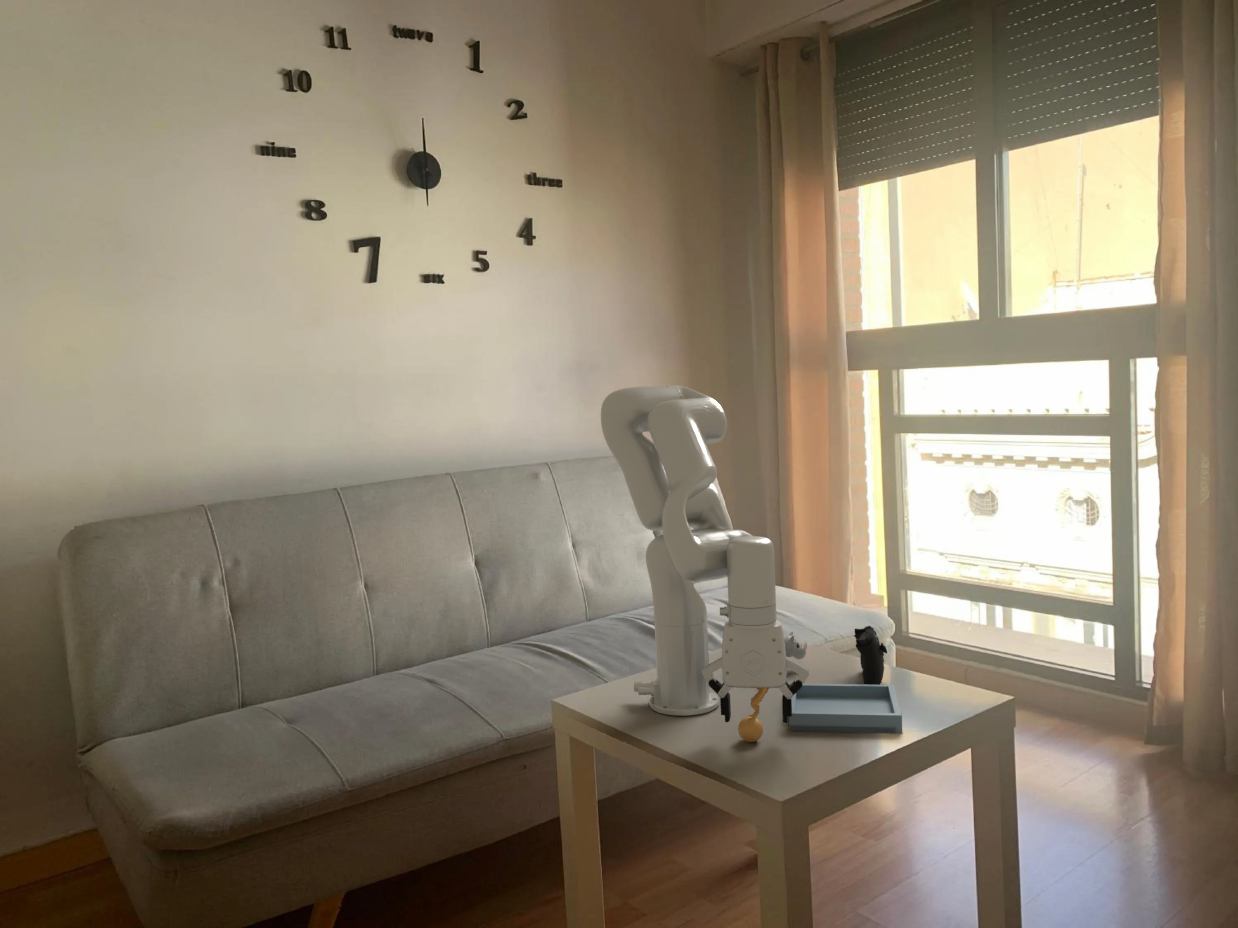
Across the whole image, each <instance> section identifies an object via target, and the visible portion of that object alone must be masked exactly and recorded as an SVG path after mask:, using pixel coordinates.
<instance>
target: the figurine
mask: <svg viewBox="0 0 1238 928" xmlns="http://www.w3.org/2000/svg"><path fill="white" fill-rule="evenodd" d="M755 689H756V690H755V691H757V692H756V693H755V694H754V695H753V697H751V699H750V706H751V708H752V709H753V710H754V712H753V713H752V714H749V715H748V716H746V717H744V718H742V719H741V720H740V721H739V723H738V727H737V730H738V735H739V737H740V738H741V739H742V740H743V741H745V742H747V743H755V742H756V741H759V740H760V738H762V736H763V732H764V727H763V724H762V722H761V721H760V720H759V719H758V718H757V717H758V716H759V714H760V703H761V702H762V701H763V699H764V697H765V695H766V694H767V693H768V691H769V689H770V688H767V687H764V688H755Z"/></svg>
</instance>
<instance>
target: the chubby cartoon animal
mask: <svg viewBox="0 0 1238 928" xmlns="http://www.w3.org/2000/svg"><path fill="white" fill-rule="evenodd" d="M784 641H785V650H786V657H788V658H791V657H793V658H795V659H796V660H802V659H804V658H805V657H806V655H807V649H808V644H807V641H804V645H803V644H802V643H801V644H800V643H799V640H798V639H797V638H796V637H795V635H794V632H793V631H791V632H790V633H789V635H787V636H784Z"/></svg>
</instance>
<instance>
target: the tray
mask: <svg viewBox="0 0 1238 928" xmlns="http://www.w3.org/2000/svg"><path fill="white" fill-rule="evenodd" d="M791 699H792V717H789V716H788V728H789V729H788V730H789V732H815V733H817V732H818V733H819V732H821V733H823V732H824V733H862V734H865V733H866V734H869V733H870V734H903V715H902V712H901V708H900V704H899V700H898V697H897V692H896V689H895V685H894V684H880V685H869V684H864V683H863V684H859V683H858V684H857V683H854V684H852V683H846V684H845V683H803V685H802V687H801V689H799V690H798V691H797V692H796V693H795V694H794V695H793V697H792V698H791Z"/></svg>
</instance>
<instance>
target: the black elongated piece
mask: <svg viewBox="0 0 1238 928" xmlns="http://www.w3.org/2000/svg"><path fill="white" fill-rule="evenodd" d="M853 636H854V638H855V639H856V640H855V641H856V642H855V643H856V644H855V647H856V649H857V651H858V652H859V654H860V666H861V670H862V681H863V684H869V685H882V681H883V678H884V677H883V676H884V673H885V672H884V671H885V665H884V664H885V663H884V662H885V660H884V659H885V658H884V656H885V654H888V650H887V647H886V645H885V644H884V643H883V642H880V640H879V637H878V636H877V630H875V628H874V627H872V626H871V625H867V626H864V628H854V635H853ZM884 653H885V654H884Z"/></svg>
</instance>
